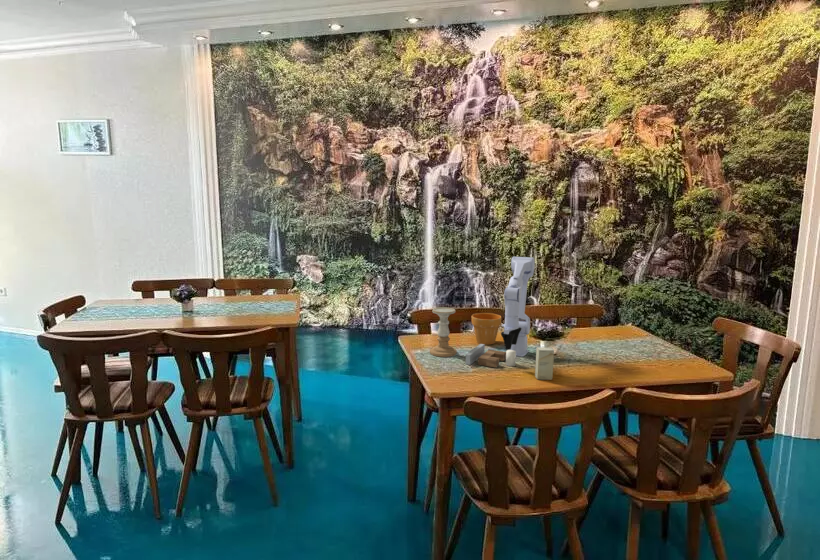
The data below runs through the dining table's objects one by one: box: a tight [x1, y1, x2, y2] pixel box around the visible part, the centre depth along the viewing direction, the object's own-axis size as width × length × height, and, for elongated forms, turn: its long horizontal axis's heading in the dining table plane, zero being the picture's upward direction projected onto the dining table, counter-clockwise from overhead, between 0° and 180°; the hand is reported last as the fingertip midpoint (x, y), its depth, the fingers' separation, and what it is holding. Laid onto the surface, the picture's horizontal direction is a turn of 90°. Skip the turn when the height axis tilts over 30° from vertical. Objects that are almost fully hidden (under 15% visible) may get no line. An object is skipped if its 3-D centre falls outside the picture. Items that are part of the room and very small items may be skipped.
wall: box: [465, 343, 486, 366], centre depth 260 cm, size 18×2×4 cm, turn 153°
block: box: [477, 349, 506, 368], centre depth 256 cm, size 14×8×3 cm, turn 153°
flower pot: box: [471, 312, 502, 346], centre depth 285 cm, size 14×14×13 cm
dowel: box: [505, 349, 517, 367], centre depth 252 cm, size 4×4×6 cm
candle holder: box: [429, 307, 458, 358], centre depth 267 cm, size 12×12×20 cm
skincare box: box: [534, 346, 555, 381], centre depth 235 cm, size 6×4×12 cm
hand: (510, 346), depth 251 cm, fingers open, 7 cm apart
